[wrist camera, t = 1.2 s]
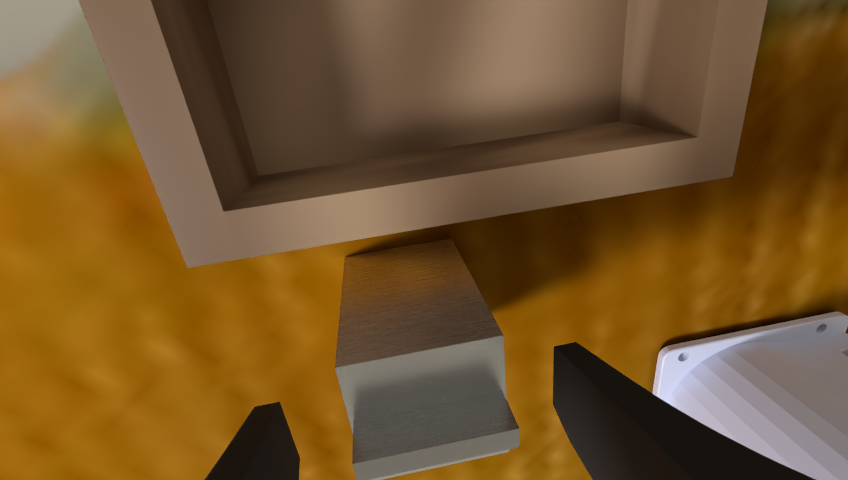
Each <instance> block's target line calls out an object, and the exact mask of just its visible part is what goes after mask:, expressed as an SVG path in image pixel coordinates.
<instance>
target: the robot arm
mask: <svg viewBox="0 0 848 480" xmlns="http://www.w3.org/2000/svg"><path fill="white" fill-rule="evenodd" d="M847 327H848V316H847V315H845V314H843V313H841V312H832V313H827V314H822V315H817V316H812V317H807V318H802V319H797V320H792V321H787V322H782V323H777V324H772V325H767V326H762V327H757V328H753V329H748V330H743V331H738V332H733V333H728V334H723V335H718V336H713V337H708V338H703V339H698V340H693V341H688V342H683V343H679V344H674V345H669V346H666V347H664V348H663V349H661V351H660V352H659V355H658V360H657V366H656V373H655V380H654V387H653V393H651V392H649V391H647V390H646V389H644V388H643V387H641V386H640V385H638V384H637V383H635V382H634V381H632V380H631V379H629V378H628V377H626V376H625V375H623V374H622V373H620V372H619V371H617V370H616V369H614V368H613V367H611V366H610V365H608V364H607V363H606V362H604V361H603V360H601V359H600V358H598V357H597V356H595V355H594V354H592V353H591V352H590V351H588V350H587V349H585V348H584V347H582V346H581V345H579V344H578V343H576V342H574V343H570V344H565V345H560V346H555V347H554V374H553V405H554V407H555V409H556V412H557V414H558V416H559V418H560V421H561V423H562V425H563V427H564V429H565V431H566V434H567V436H568V438H569V440H570V442H571V444H572V445H573V447H574V449H575V450H576V452H577V454H578V456H579V457H580V459H581V461H582V462H583V464H584V466H585V467H586V469H587V471H588V472H589V474H590V476H591V477H592V479H593V480H848V334H847V333H845V332H846V330H847ZM299 464H300V457H299V455H298V452H297V449H296V446H295V443H294V441H293V438H292V435H291V432H290V429H289V427H288V424H287V421H286V418H285V416H284V413H283V410H282V407H281V404H280V402H277V403H272V404H267V405H262V406H257V407H254V409H253V410H252V411H251V413H250V414H249V416H248V417H247V419H246V420H245V422H244V423H243V425H242V426H241V428H240V429H239V431H238V432H237V434H236V435H235V436H234V438H233V439H232V441H231V442H230V444H229V445H228V447H227V448H226V450H225V451H224V453H223V454H222V456H221V457H220V459H219V460H218V462H217V463H216V464H215V466H214V467H213V469H212V470H211V471H210V473H209V474H208V476H207V477H206V478H205V480H299Z"/></svg>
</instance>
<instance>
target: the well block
mask: <svg viewBox="0 0 848 480" xmlns="http://www.w3.org/2000/svg"><path fill="white" fill-rule="evenodd" d="M767 2H768V0H79V3H80V5H81V8H82V10H83V13H84V15H85V18H86V20H87V23H88V25H89V27H90V30H91V32H92V35H93V37H94V40H95V42H96V45H97V47H98V49H99V52H100V54H101V57H102V59H103V62H104V64H105V67H106V69H107V72H108V74H109V76H110V79H111V81H112V84H113V86H114V89H115V91H116V94H117V96H118V99H119V101H120V103H121V106H122V108H123V111H124V113H125V116H126V118H127V121H128V123H129V126H130V128H131V130H132V133H133V135H134V138H135V140H136V143H137V145H138V148H139V150H140V152H141V155H142V157H143V160H144V162H145V165H146V167H147V170H148V172H149V175H150V177H151V179H152V182H153V184H154V187H155V189H156V192H157V194H158V197H159V199H160V202H161V204H162V206H163V209H164V211H165V214H166V216H167V219H168V221H169V224H170V226H171V228H172V231H173V233H174V236H175V238H176V241H177V243H178V246H179V248H180V251H181V253H182V255H183V258H184V260H185V263H186V265H187V268H190V267H196V266H202V265H208V264H214V263H220V262H226V261H232V260H238V259H244V258H250V257H256V256H262V255H268V254H274V253H280V252H286V251H292V250H298V249H304V248H310V247H316V246H322V245H328V244H334V243H340V242H346V241H352V240H358V239H364V238H370V237H376V236H382V235H388V234H394V233H400V232H406V231H412V230H418V229H424V228H430V227H436V226H441V225H447V224H453V223H459V222H465V221H471V220H477V219H483V218H489V217H495V216H501V215H507V214H513V213H519V212H525V211H531V210H537V209H543V208H549V207H555V206H561V205H567V204H573V203H579V202H585V201H591V200H597V199H603V198H609V197H615V196H621V195H627V194H633V193H639V192H645V191H651V190H657V189H663V188H669V187H675V186H681V185H687V184H693V183H699V182H705V181H711V180H717V179H723V178H729V177H733V173H734V168H735V163H736V158H737V153H738V148H739V142H740V137H741V132H742V127H743V122H744V117H745V112H746V107H747V102H748V97H749V92H750V87H751V82H752V77H753V72H754V67H755V62H756V57H757V52H758V47H759V42H760V37H761V32H762V27H763V22H764V17H765V12H766V7H767Z"/></svg>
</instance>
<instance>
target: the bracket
mask: <svg viewBox="0 0 848 480" xmlns="http://www.w3.org/2000/svg"><path fill="white" fill-rule="evenodd" d="M335 370H336V373H337V377H338V381H339V384H340V388H341V392H342V396H343V399H344V403H345V407H346V410H347V414H348V418H349V421H350V425H351V429H352V433H353V468H354V471H355V475H356V478H357V480H382V479H386V478H391V477H395V476H400V475H405V474H409V473H414V472H418V471H423V470H428V469H432V468H437V467H441V466H446V465H451V464H455V463H460V462H464V461H469V460H474V459H478V458H483V457H487V456H492V455H497V454H501V453H506V452H509V449H513V448H518V447H520V443H519V427H518V425H517V423H516V421H515V418H514V416H513V414H512V411H511V409H510V407H509V405H508V402H507V400H506V380H505V359H504V339H503V334H502V332H501V330H500V328H499V326H498V325H497V323H496V321H495V319H494V317H493V315H492V313H491V311H490V309H489V308H488V306H487V304H486V302H485V300H484V298H483V296H482V294H481V293H480V291H479V289H478V287H477V285H476V283H475V281H474V279H473V278H472V276H471V274H470V272H469V270H468V268H467V266H466V264H465V263H464V261H463V259H462V257H461V255H460V253H459V251H458V249H457V248H456V246H455V244H454V242H453V240H452V239H446V240H440V241H434V242H428V243H422V244H417V245H411V246H405V247H399V248H393V249H387V250H381V251H376V252H370V253H364V254H358V255H352V256H346V257H345V262H344V273H343V284H342V295H341V307H340V318H339V329H338V340H337V351H336V363H335Z"/></svg>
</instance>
